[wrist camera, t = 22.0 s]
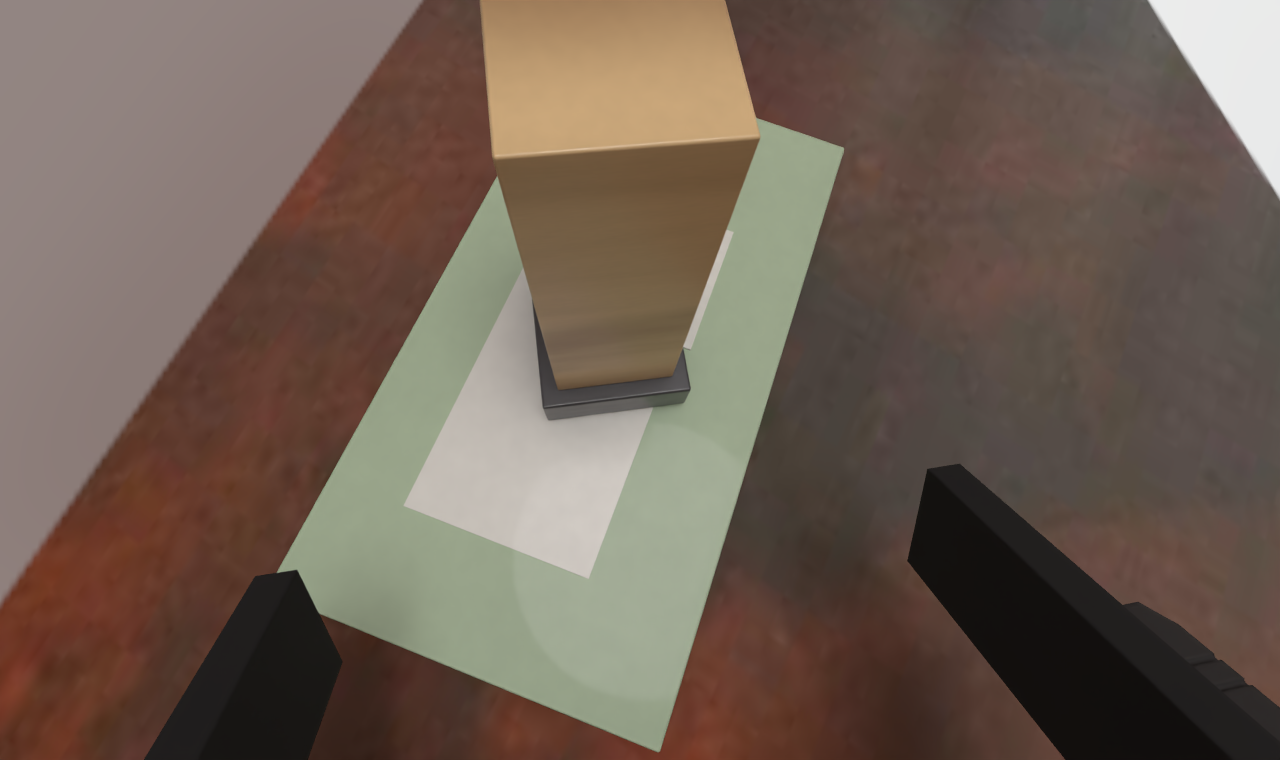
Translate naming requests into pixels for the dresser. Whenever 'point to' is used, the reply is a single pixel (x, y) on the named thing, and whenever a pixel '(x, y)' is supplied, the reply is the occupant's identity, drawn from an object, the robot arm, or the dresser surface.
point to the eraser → (616, 182)
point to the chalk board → (562, 473)
